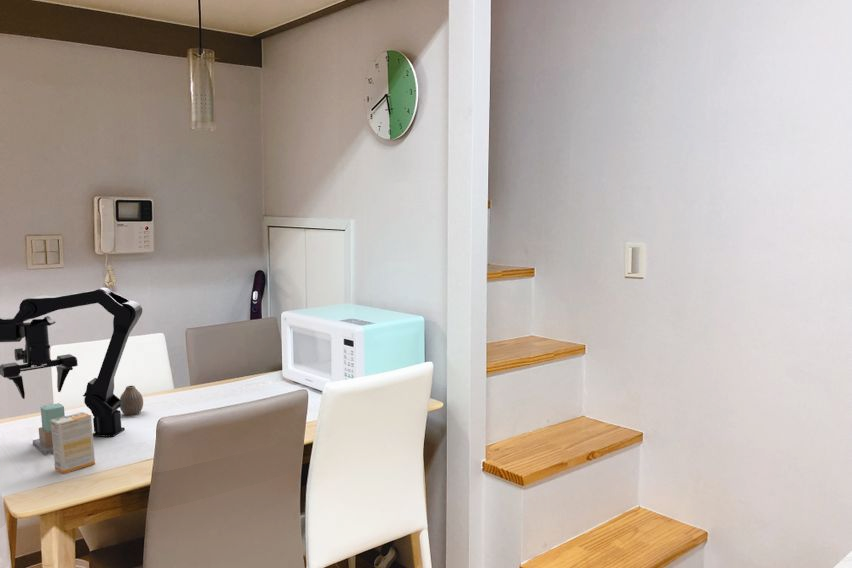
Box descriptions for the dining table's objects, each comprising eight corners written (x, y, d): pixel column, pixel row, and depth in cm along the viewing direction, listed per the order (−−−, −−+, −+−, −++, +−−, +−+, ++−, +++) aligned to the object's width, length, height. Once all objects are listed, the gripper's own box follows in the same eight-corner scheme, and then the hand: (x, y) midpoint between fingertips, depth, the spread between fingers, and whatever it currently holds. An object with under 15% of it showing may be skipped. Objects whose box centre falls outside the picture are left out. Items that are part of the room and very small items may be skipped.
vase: (115, 416, 217) (113, 388, 216) (129, 409, 223) (127, 383, 222) (134, 417, 215) (132, 390, 214) (148, 410, 222) (146, 384, 221)
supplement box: (86, 460, 181) (83, 411, 179) (95, 464, 177) (92, 414, 176) (53, 469, 174) (49, 419, 173) (62, 474, 171) (58, 422, 170)
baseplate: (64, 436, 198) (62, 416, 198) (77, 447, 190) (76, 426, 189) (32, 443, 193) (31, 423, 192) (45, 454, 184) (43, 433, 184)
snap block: (60, 423, 194) (58, 403, 193) (65, 427, 191) (63, 406, 190) (42, 427, 191) (40, 406, 190) (47, 431, 188) (45, 410, 187)
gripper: (64, 332, 208) (68, 383, 210) (-8, 342, 195) (-3, 396, 197) (76, 337, 200) (80, 390, 202) (1, 347, 187) (6, 404, 189)
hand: (41, 395), depth 198 cm, fingers open, 9 cm apart
